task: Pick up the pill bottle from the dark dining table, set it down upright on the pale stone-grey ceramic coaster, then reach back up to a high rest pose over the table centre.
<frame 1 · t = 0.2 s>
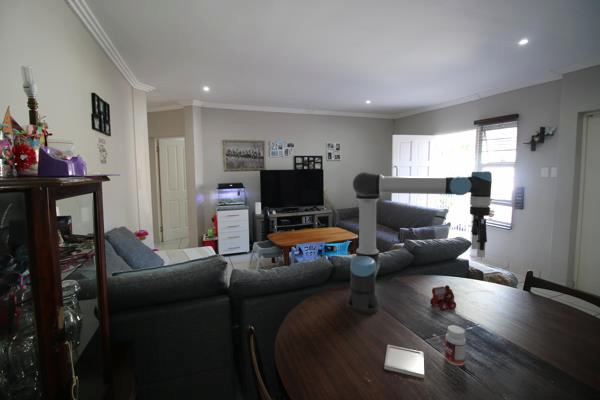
hand: (477, 252, 127), 28 cm above the table, fingers open, 13 cm apart
coaster: (404, 361, 96), on the table
toy fire truck: (443, 307, 134), on the table
pill bottle: (454, 360, 97), on the table
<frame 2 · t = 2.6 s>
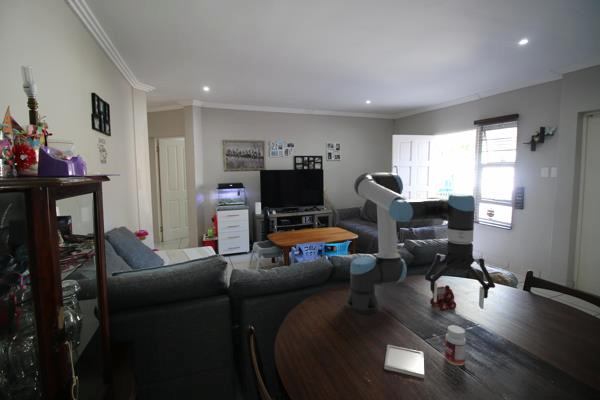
hand: (457, 303, 94), 20 cm above the table, fingers open, 13 cm apart
nothing on the table moved.
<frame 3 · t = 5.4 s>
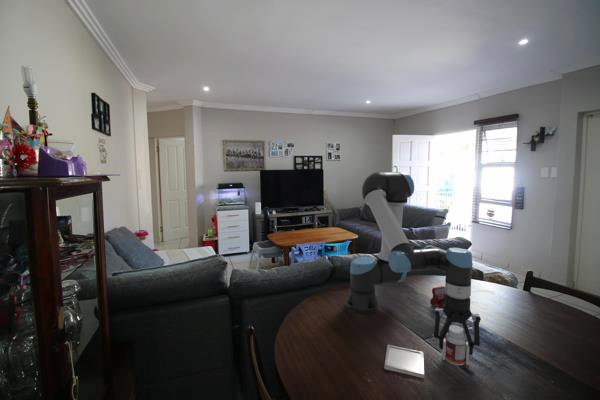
hand: (454, 359, 96), 0 cm above the table, fingers closed on pill bottle, 6 cm apart
pill bottle: (454, 360, 97), on the table, touching gripper
everything else where it was.
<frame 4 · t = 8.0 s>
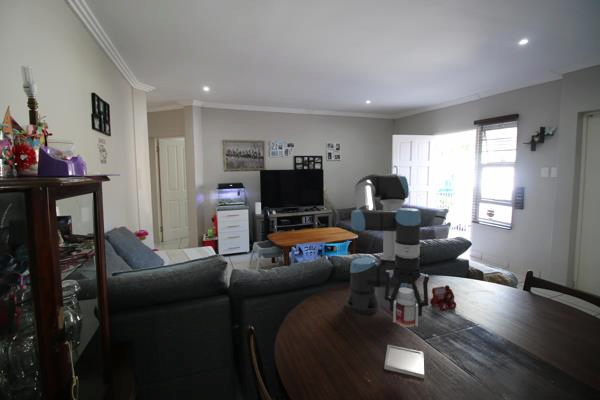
hand: (405, 322, 95), 14 cm above the table, fingers closed on pill bottle, 6 cm apart
pill bottle: (405, 323, 95), point 14 cm above the table, touching gripper
everything else where it was.
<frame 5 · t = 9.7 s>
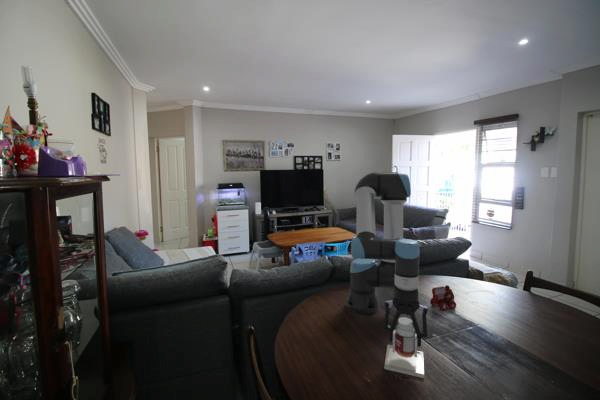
hand: (404, 352, 96), 4 cm above the table, fingers closed on pill bottle, 6 cm apart
pill bottle: (404, 353, 96), point 3 cm above the table, touching gripper
everything else where it was.
when the fingers open (2 cm above the table, at t = 10.7 s): pill bottle drops 1 cm, resting on coaster.
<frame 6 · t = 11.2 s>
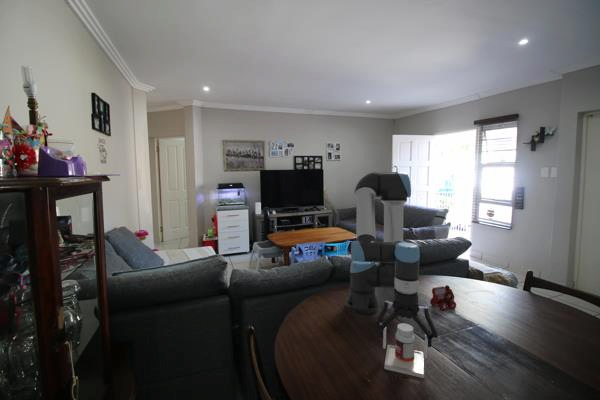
hand: (404, 350, 96), 4 cm above the table, fingers open, 12 cm apart
pill bottle: (404, 359, 96), point 1 cm above the table, touching coaster
everything else where it was.
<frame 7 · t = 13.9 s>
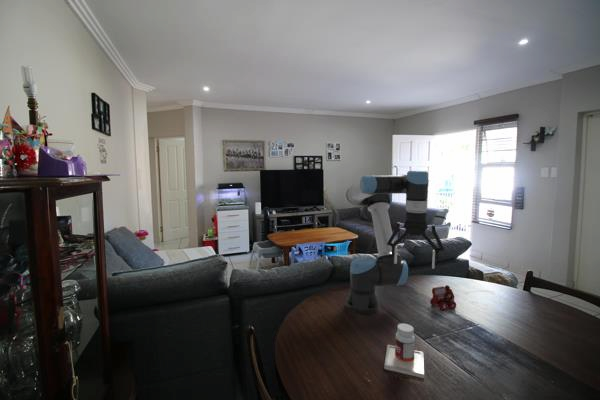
hand: (413, 265, 110), 28 cm above the table, fingers open, 13 cm apart
nothing on the table moved.
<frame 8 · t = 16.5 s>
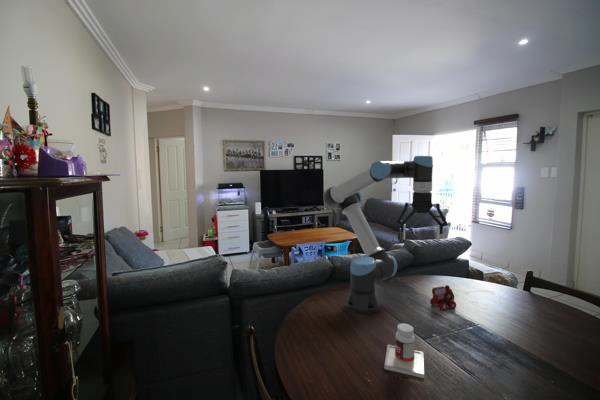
hand: (420, 240, 123), 35 cm above the table, fingers open, 13 cm apart
nothing on the table moved.
at the end: pill bottle inside the target area on the coaster (0.2 cm from its centre), point 0.8 cm above the coaster's base; pill bottle tilted 0°; the gripper is holding nothing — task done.
